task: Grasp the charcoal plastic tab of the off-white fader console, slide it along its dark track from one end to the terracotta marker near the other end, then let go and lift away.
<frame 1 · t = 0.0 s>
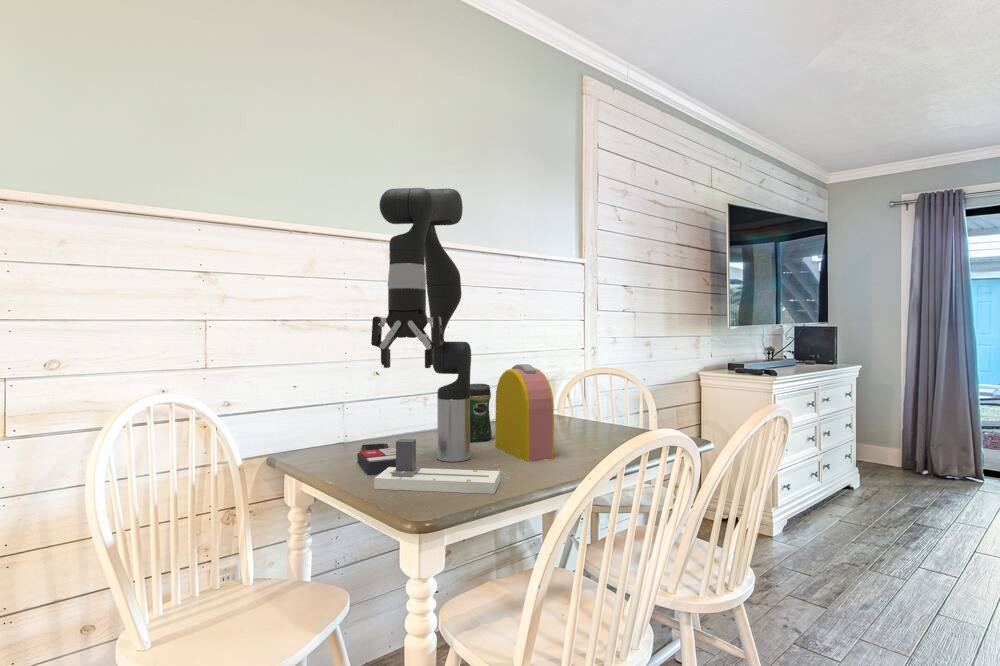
hand: (407, 367, 111), 29 cm above the table, fingers open, 8 cm apart
lunch box: (523, 453, 163), on the table
coffee jar: (476, 440, 181), on the table
fader tab: (406, 456, 131), point 7 cm above the table, slide at -8.0 cm
phone: (375, 453, 164), on the table
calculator: (383, 468, 147), on the table
fader console: (438, 485, 130), on the table
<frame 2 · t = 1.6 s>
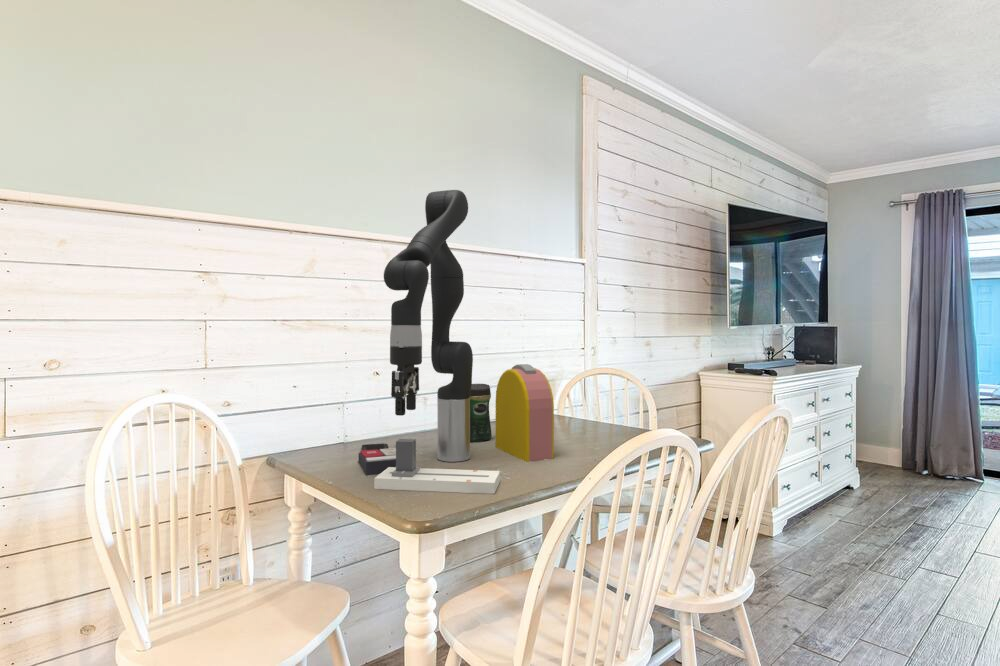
hand: (405, 412, 131), 17 cm above the table, fingers open, 8 cm apart
nothing on the table moved.
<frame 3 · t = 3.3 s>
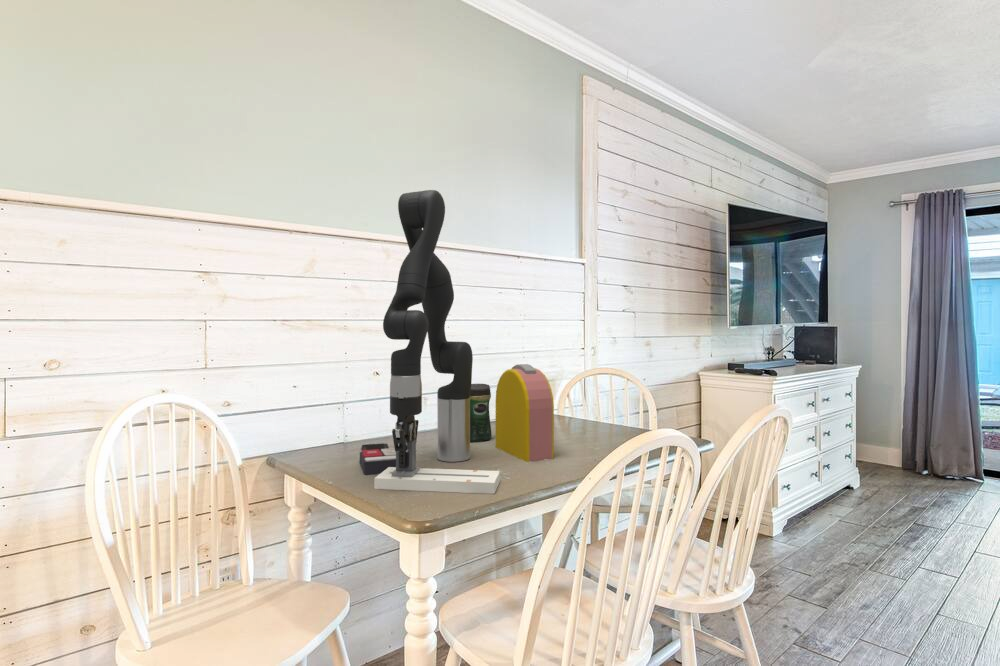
hand: (405, 465, 131), 4 cm above the table, fingers closed on fader tab, 3 cm apart
fader tab: (406, 456, 131), point 6 cm above the table, slide at -8.0 cm, touching gripper
everything else where it was.
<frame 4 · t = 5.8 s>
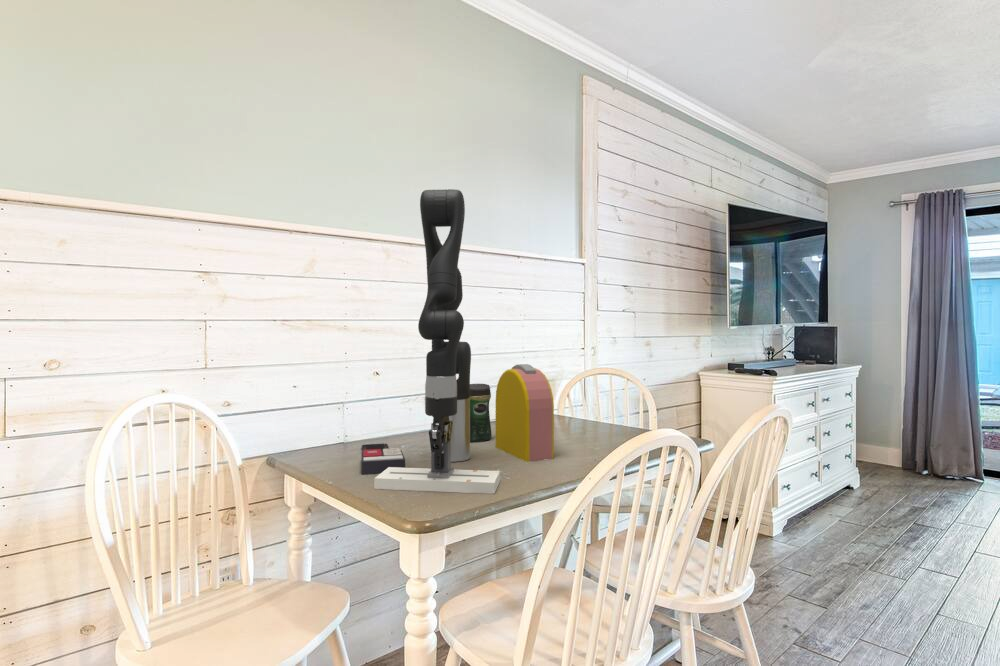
hand: (441, 466, 130), 4 cm above the table, fingers closed on fader tab, 3 cm apart
fader tab: (441, 457, 130), point 6 cm above the table, slide at 0.6 cm, touching gripper
everything else where it was.
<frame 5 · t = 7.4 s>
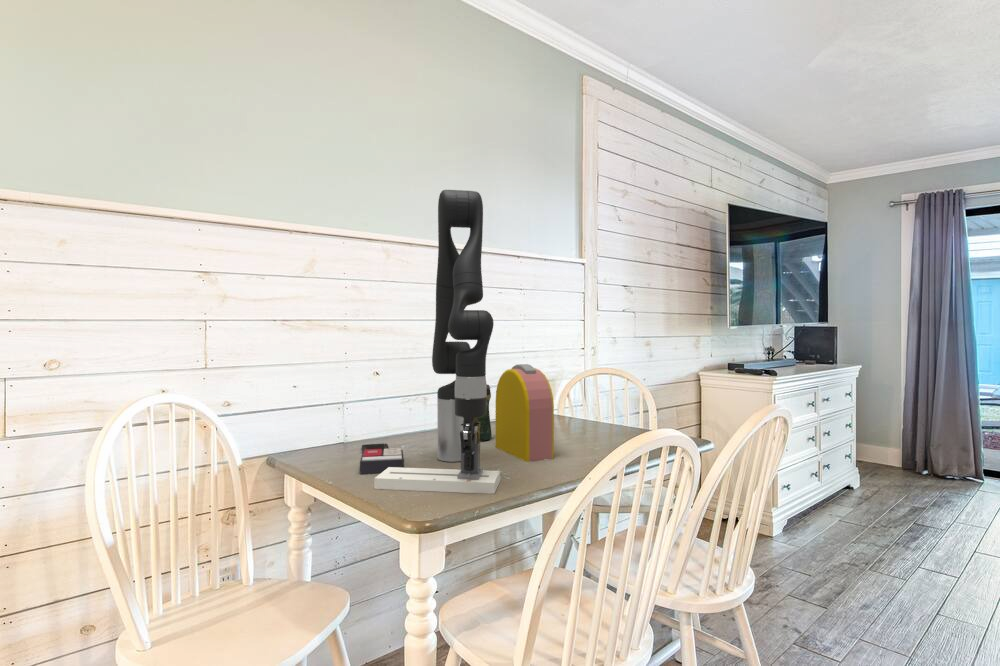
hand: (470, 467, 129), 4 cm above the table, fingers closed on fader tab, 3 cm apart
fader tab: (470, 458, 129), point 7 cm above the table, slide at 7.7 cm, touching gripper
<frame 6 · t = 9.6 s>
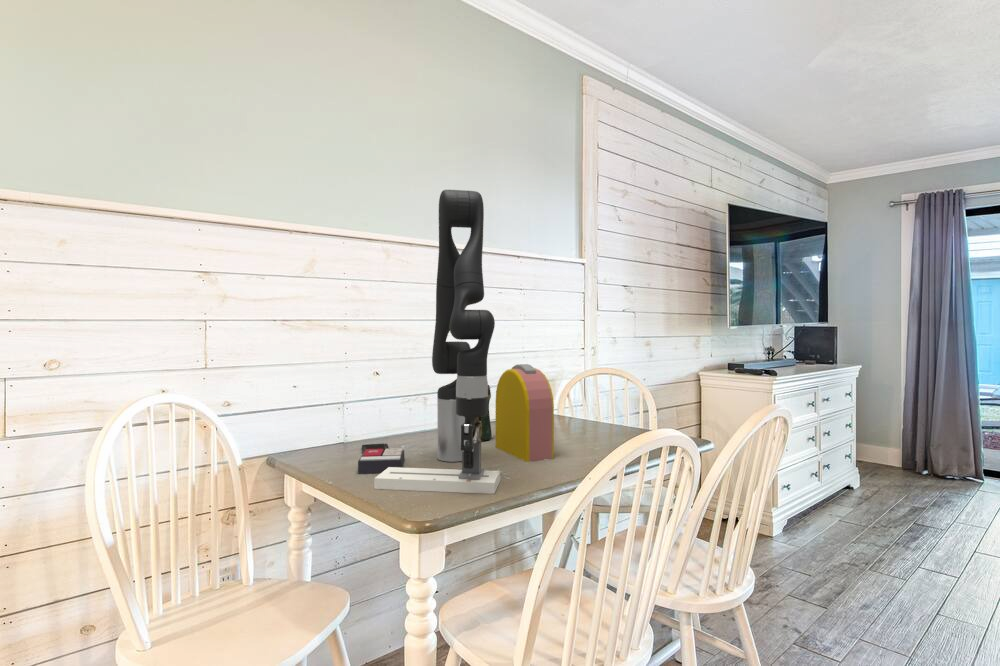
hand: (471, 463, 129), 5 cm above the table, fingers open, 8 cm apart
fader tab: (471, 458, 129), point 7 cm above the table, slide at 7.9 cm
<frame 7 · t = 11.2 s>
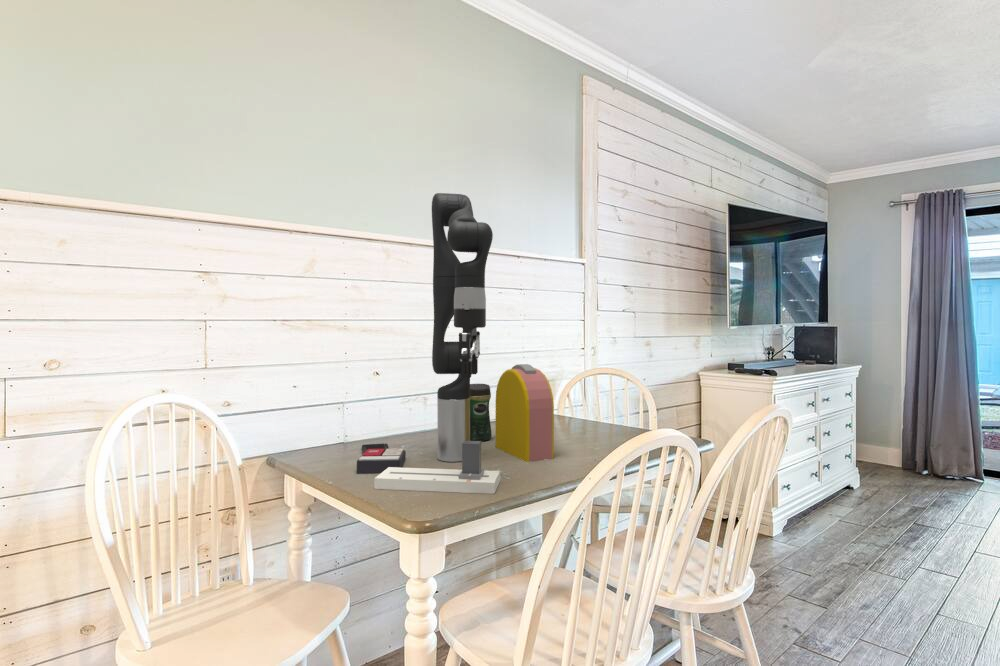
hand: (469, 376, 129), 26 cm above the table, fingers open, 8 cm apart
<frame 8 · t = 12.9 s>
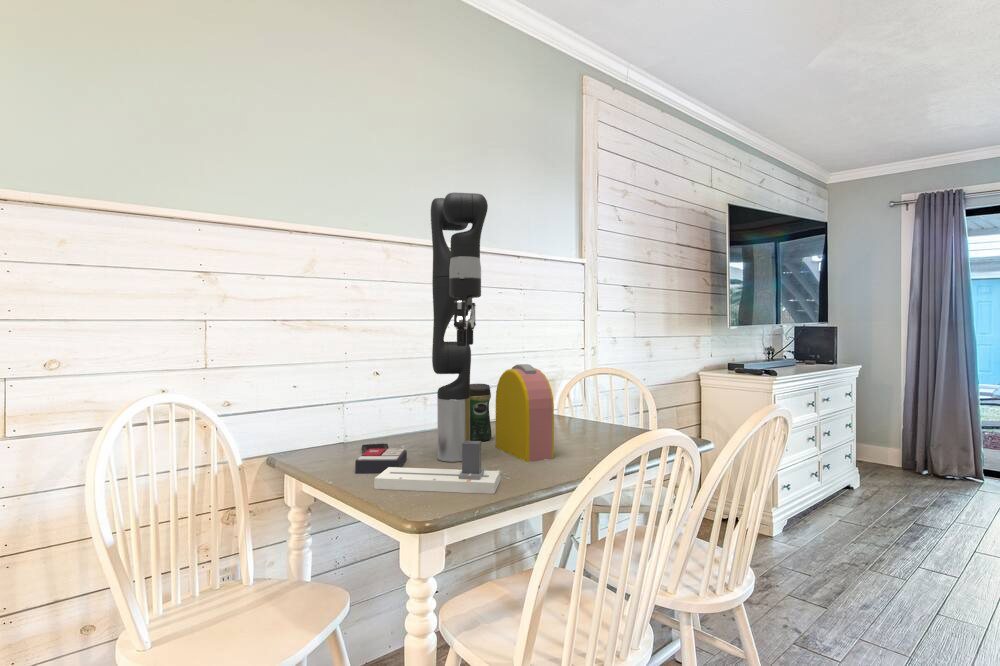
hand: (465, 345, 131), 33 cm above the table, fingers open, 8 cm apart
at the end: fader tab slide at 7.9 cm; the gripper is holding nothing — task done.
